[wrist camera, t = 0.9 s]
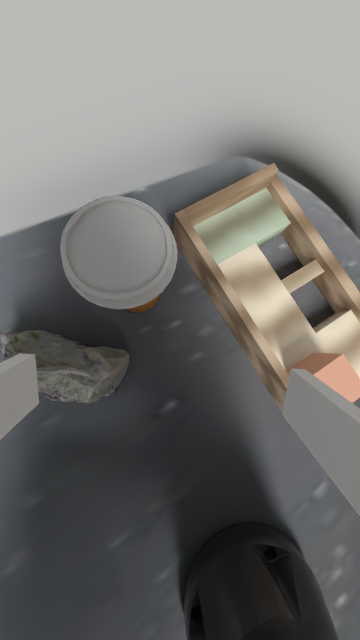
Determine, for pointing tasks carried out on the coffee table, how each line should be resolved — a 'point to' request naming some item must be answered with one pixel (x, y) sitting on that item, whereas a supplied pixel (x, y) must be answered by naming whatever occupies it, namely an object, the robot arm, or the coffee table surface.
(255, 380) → the coffee table surface
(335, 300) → the box
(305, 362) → the terracotta block
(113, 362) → the mineral rock
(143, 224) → the disposable coffee cup
